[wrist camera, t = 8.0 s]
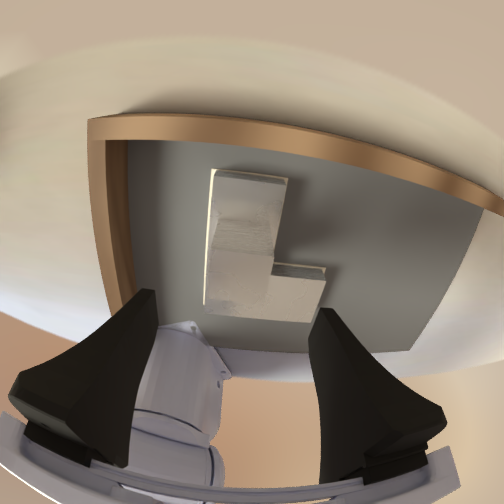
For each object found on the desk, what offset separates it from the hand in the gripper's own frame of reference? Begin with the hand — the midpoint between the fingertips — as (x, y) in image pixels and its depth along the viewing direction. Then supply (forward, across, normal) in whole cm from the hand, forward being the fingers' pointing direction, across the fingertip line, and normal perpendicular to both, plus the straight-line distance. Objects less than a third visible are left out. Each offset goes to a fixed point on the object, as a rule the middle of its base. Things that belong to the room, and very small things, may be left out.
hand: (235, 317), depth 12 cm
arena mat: (+8, -6, +2) cm, 10 cm away
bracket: (+7, -2, +1) cm, 8 cm away
